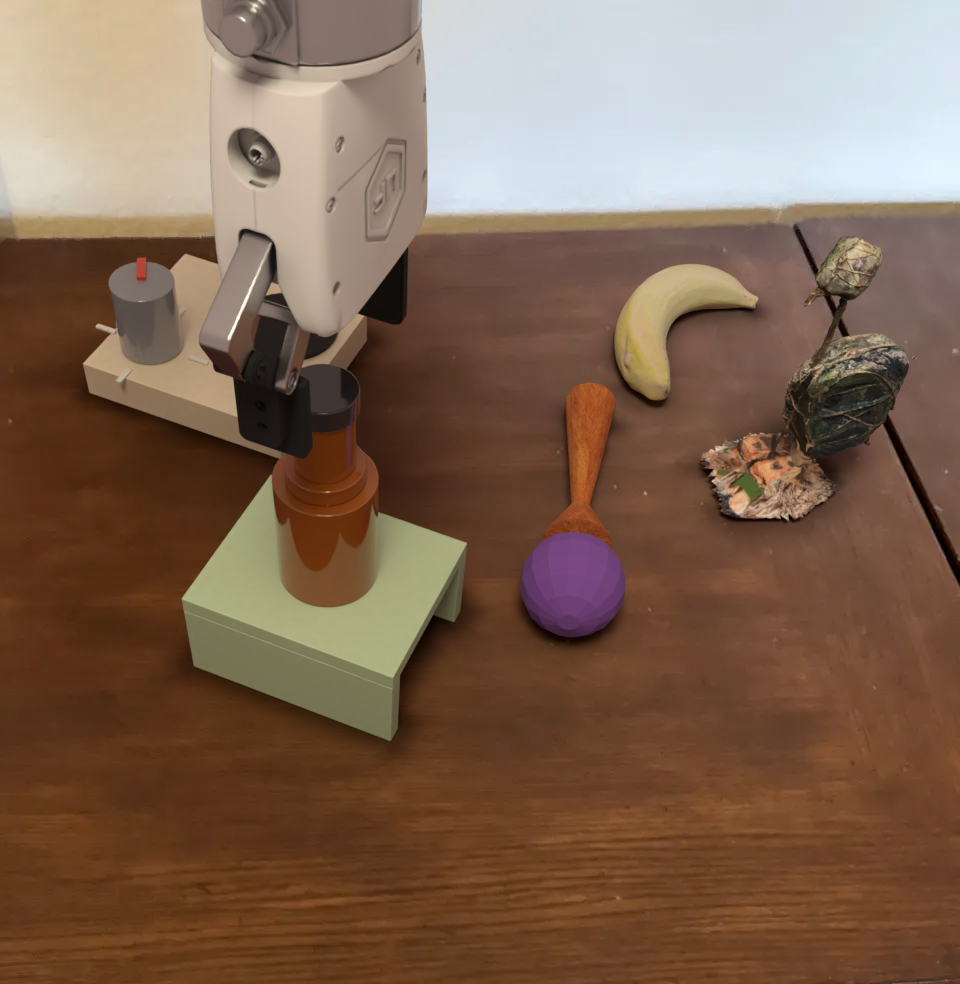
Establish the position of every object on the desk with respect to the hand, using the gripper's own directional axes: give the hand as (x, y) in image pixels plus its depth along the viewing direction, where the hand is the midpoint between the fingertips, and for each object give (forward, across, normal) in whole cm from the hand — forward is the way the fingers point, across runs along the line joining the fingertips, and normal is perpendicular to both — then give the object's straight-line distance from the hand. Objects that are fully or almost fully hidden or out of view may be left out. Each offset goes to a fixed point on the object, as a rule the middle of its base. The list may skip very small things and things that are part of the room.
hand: (327, 376), depth 56 cm
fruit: (+20, +34, -10) cm, 41 cm away
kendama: (+20, +14, -10) cm, 26 cm away
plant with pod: (+20, +24, -20) cm, 37 cm away
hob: (+19, +18, +16) cm, 31 cm away
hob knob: (+17, +15, +20) cm, 30 cm away
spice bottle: (+14, 0, 0) cm, 14 cm away
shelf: (+20, 0, 0) cm, 20 cm away
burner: (+17, +21, +13) cm, 30 cm away
